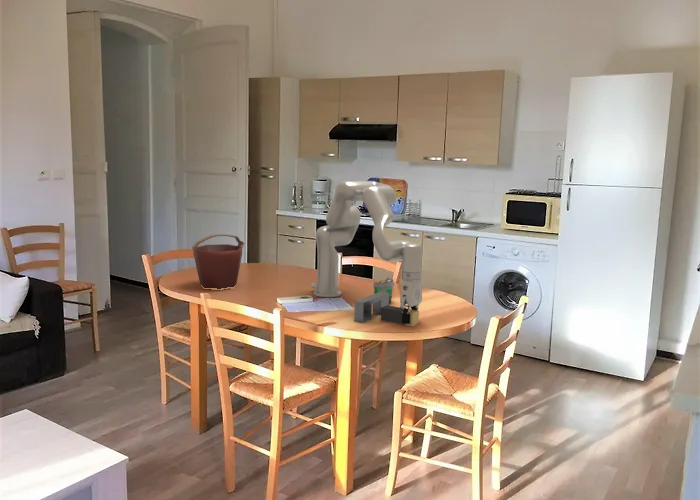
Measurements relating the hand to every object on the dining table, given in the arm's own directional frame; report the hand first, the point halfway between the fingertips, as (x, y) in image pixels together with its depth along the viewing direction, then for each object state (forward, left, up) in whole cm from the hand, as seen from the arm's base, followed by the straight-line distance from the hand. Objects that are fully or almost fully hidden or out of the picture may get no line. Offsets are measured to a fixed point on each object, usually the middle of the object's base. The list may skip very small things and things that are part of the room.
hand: (409, 321), depth 239 cm
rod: (-5, 0, -1) cm, 5 cm away
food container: (-23, +22, -1) cm, 32 cm away
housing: (-17, 0, -1) cm, 17 cm away
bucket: (-101, 0, -1) cm, 101 cm away
